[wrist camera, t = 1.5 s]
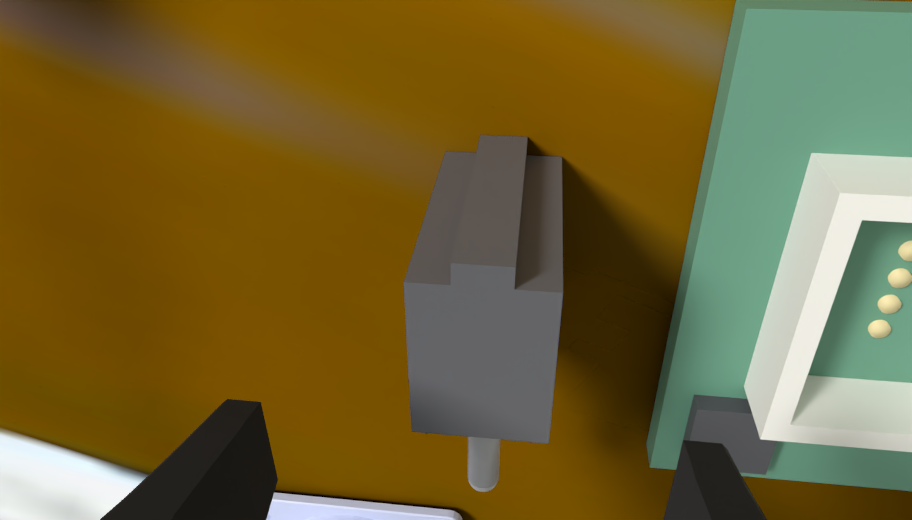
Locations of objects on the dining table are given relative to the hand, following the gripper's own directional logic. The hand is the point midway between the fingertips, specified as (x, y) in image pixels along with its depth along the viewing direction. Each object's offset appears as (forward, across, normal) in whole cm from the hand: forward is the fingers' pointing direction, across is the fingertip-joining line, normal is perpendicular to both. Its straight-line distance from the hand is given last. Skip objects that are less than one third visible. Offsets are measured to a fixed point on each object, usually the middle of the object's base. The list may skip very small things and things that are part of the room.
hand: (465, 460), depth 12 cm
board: (+8, -10, +1) cm, 13 cm away
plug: (+8, 0, +2) cm, 9 cm away
